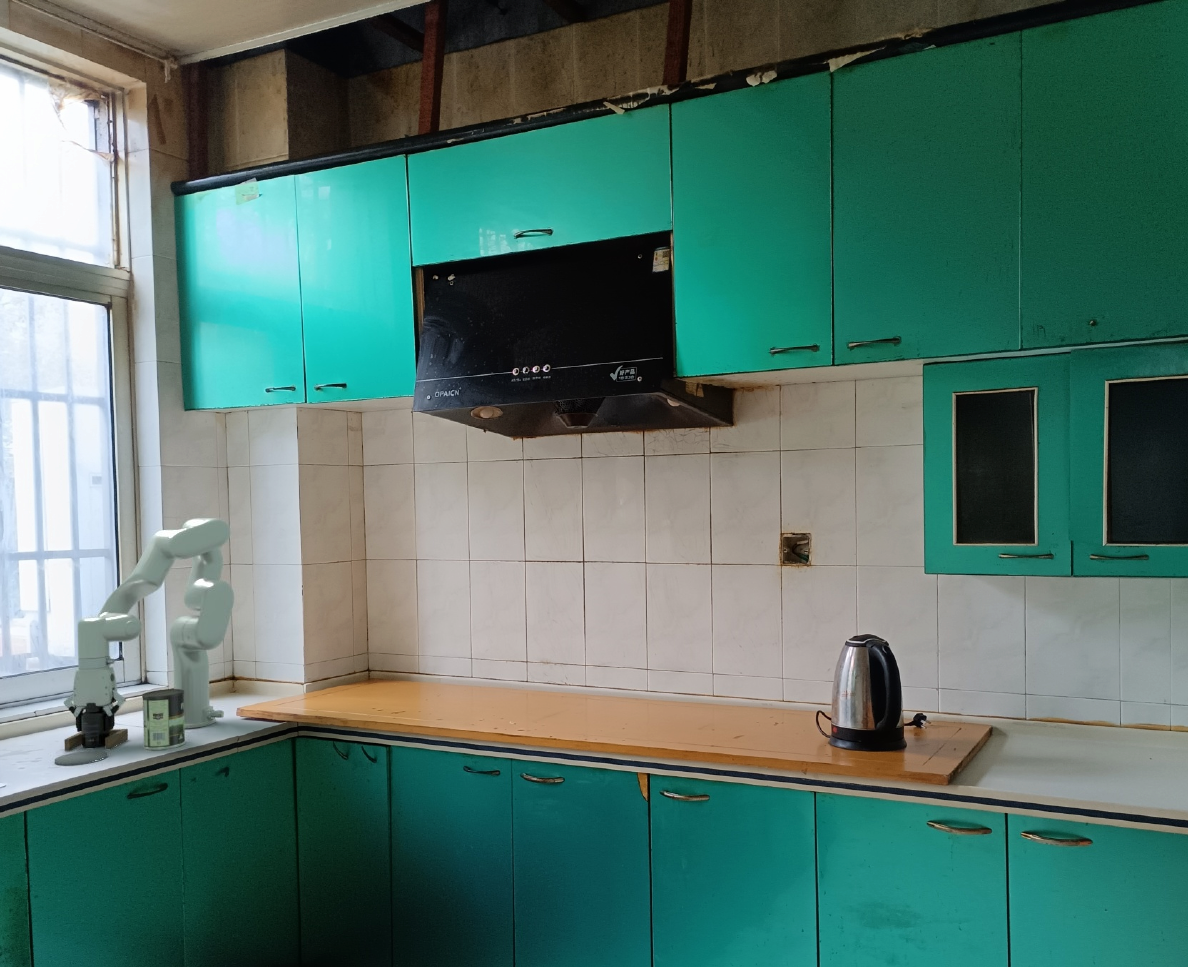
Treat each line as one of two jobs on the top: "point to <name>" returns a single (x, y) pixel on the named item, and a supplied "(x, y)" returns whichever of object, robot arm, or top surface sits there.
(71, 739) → the bottle holder
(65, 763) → the rubber mat
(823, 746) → the top surface
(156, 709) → the coffee can
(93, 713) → the supplement bottle
